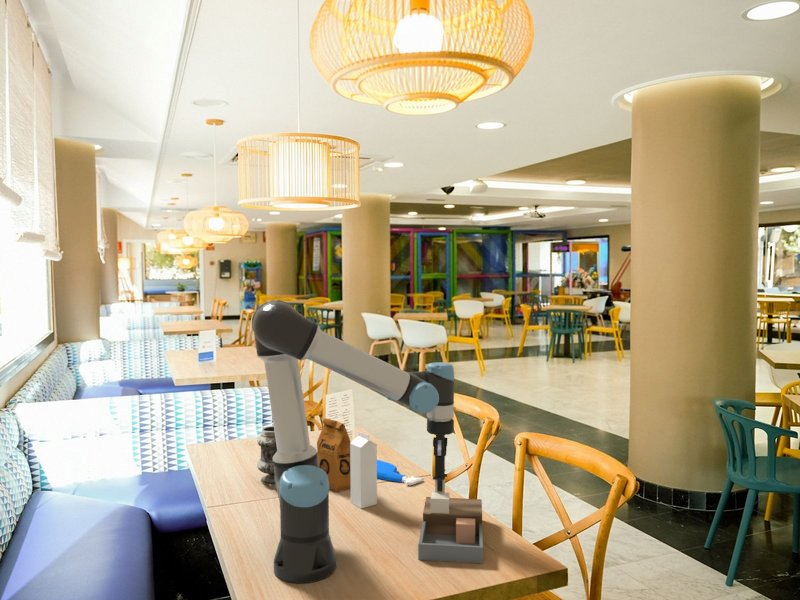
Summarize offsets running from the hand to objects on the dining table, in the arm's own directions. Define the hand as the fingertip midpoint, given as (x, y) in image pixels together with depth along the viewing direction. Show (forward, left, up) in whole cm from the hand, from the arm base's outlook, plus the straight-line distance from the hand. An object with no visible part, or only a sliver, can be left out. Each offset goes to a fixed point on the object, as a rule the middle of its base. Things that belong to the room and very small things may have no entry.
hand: (439, 501), depth 170 cm
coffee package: (+28, +36, -8) cm, 46 cm away
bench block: (0, -4, -7) cm, 8 cm away
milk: (+14, +24, -7) cm, 29 cm away
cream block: (-3, 0, -1) cm, 4 cm away
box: (-13, -4, -7) cm, 16 cm away
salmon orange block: (-7, -7, -4) cm, 11 cm away
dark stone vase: (+31, +58, -8) cm, 66 cm away
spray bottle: (+39, +20, -8) cm, 45 cm away
